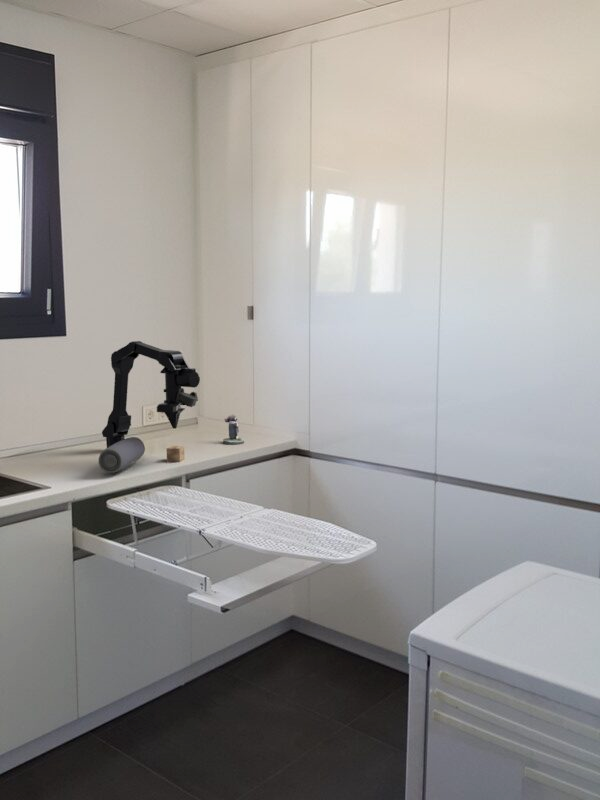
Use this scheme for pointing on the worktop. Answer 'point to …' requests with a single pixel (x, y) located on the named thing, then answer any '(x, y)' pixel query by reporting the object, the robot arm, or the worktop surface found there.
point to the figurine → (233, 432)
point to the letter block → (175, 454)
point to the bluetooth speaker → (121, 455)
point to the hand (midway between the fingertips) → (174, 428)
